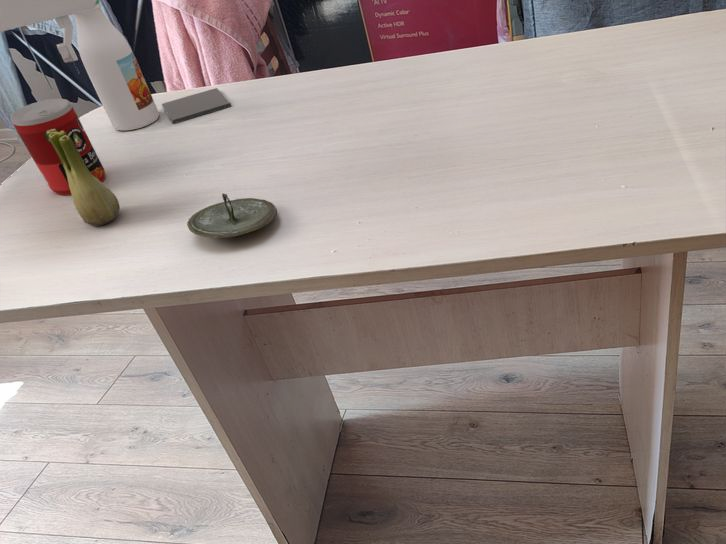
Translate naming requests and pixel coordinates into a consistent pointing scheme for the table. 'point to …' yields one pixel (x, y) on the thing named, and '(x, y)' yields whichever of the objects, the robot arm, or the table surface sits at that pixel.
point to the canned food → (33, 131)
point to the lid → (232, 217)
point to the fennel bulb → (84, 183)
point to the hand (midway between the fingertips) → (27, 72)
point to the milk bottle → (114, 71)
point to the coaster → (195, 105)
